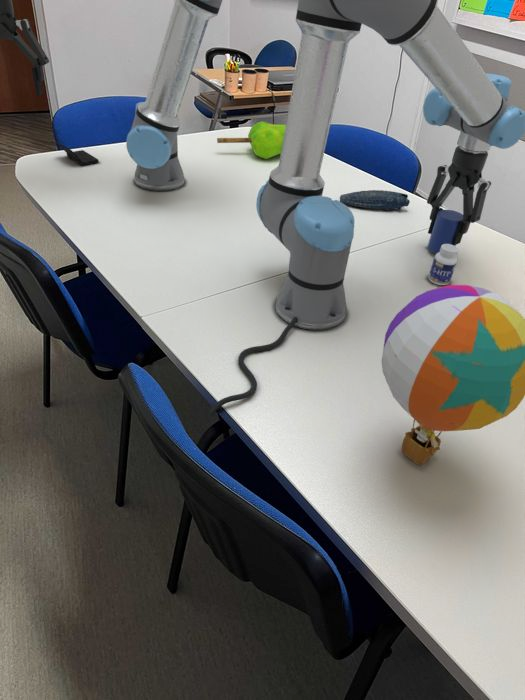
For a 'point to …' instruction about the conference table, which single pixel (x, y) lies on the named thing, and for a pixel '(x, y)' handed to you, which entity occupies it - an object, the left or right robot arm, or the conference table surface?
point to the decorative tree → (262, 139)
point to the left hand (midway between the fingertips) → (13, 92)
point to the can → (444, 229)
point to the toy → (454, 363)
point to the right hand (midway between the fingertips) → (443, 237)
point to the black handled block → (79, 155)
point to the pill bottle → (443, 265)
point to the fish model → (376, 199)
